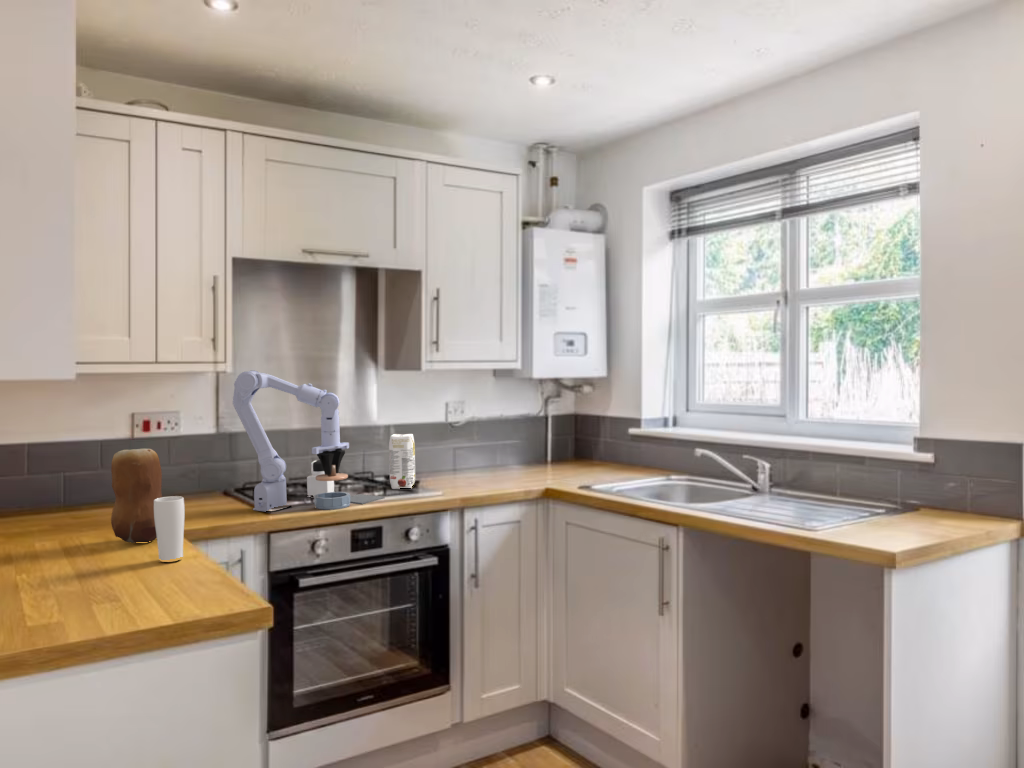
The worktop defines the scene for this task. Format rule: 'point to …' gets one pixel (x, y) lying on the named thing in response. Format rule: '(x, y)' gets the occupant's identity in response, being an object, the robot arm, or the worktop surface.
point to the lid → (332, 475)
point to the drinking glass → (169, 526)
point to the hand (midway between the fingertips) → (331, 473)
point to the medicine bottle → (315, 485)
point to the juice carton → (402, 461)
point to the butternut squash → (135, 494)
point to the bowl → (332, 500)
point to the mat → (364, 498)
